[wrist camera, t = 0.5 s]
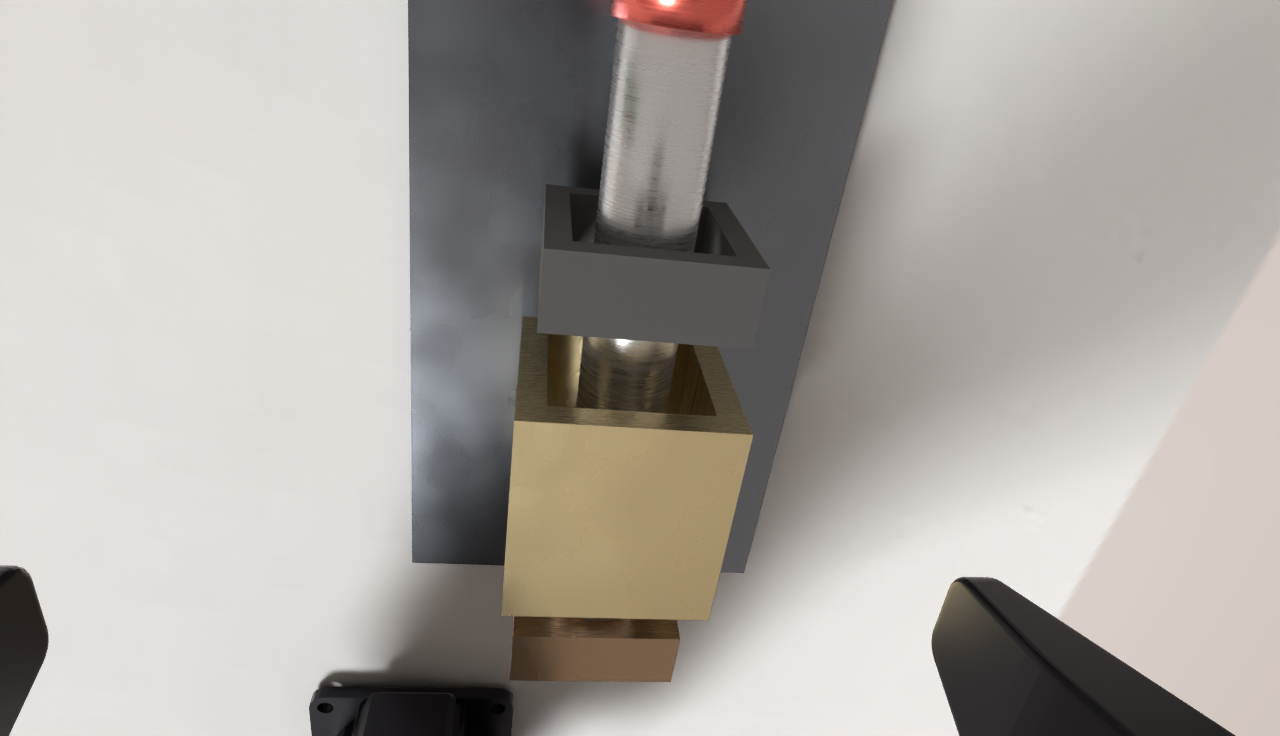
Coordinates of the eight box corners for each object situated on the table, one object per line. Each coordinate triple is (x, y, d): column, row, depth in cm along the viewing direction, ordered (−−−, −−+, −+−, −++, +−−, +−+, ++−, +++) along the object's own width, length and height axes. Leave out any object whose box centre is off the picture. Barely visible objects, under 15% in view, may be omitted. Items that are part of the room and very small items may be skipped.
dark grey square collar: (713, 270, 18) (752, 349, 14) (540, 254, 17) (536, 333, 14) (726, 203, 17) (770, 269, 14) (545, 183, 17) (543, 248, 13)
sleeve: (679, 492, 21) (708, 620, 17) (511, 485, 21) (501, 615, 17) (711, 331, 19) (753, 434, 15) (522, 316, 18) (514, 420, 14)
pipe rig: (740, 561, 24) (781, 696, 20) (415, 550, 23) (382, 693, 19) (972, -347, 14) (1158, -476, 10) (410, -474, 13) (334, -691, 8)
